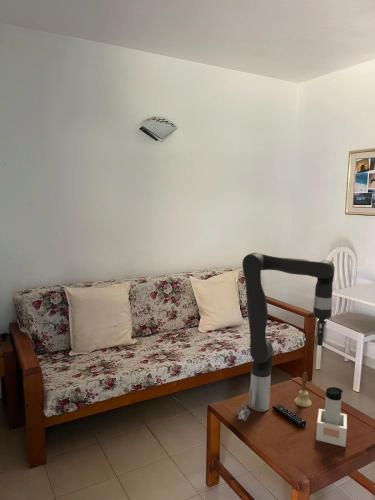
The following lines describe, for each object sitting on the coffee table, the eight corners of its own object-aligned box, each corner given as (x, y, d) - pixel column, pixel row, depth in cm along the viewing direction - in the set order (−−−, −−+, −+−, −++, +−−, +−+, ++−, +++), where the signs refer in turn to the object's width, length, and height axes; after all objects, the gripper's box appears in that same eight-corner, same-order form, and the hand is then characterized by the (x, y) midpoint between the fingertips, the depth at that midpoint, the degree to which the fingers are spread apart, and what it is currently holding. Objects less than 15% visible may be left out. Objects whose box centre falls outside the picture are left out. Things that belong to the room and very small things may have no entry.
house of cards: (234, 407, 183) (234, 393, 182) (251, 412, 179) (252, 397, 178) (227, 417, 175) (228, 401, 174) (245, 422, 171) (246, 406, 170)
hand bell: (310, 398, 192) (311, 369, 190) (313, 407, 184) (314, 376, 182) (293, 397, 193) (294, 367, 191) (295, 406, 185) (297, 375, 183)
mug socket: (316, 440, 159) (317, 422, 158) (318, 425, 169) (319, 408, 168) (345, 447, 154) (346, 429, 153) (345, 431, 165) (346, 414, 164)
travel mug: (340, 438, 158) (344, 393, 156) (324, 436, 160) (327, 391, 157) (338, 430, 164) (341, 386, 162) (322, 428, 166) (325, 384, 163)
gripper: (314, 301, 172) (312, 335, 175) (312, 309, 159) (309, 346, 162) (332, 303, 170) (330, 337, 172) (331, 311, 157) (328, 349, 159)
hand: (320, 341), depth 167 cm, fingers open, 8 cm apart
